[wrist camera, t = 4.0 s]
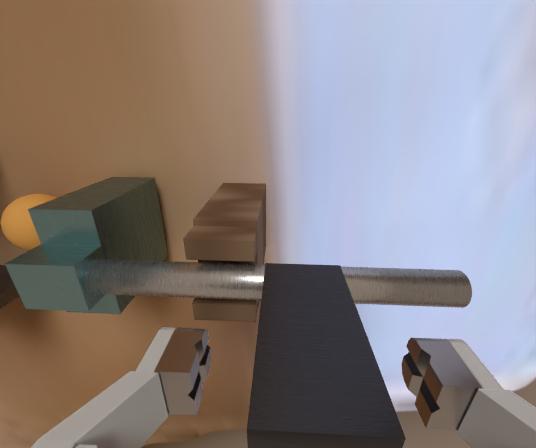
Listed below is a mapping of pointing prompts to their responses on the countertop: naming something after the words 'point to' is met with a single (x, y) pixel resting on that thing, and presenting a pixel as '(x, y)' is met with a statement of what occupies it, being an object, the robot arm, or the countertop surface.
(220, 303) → the rod cradle
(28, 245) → the ball
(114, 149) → the countertop surface
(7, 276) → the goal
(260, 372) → the rod
